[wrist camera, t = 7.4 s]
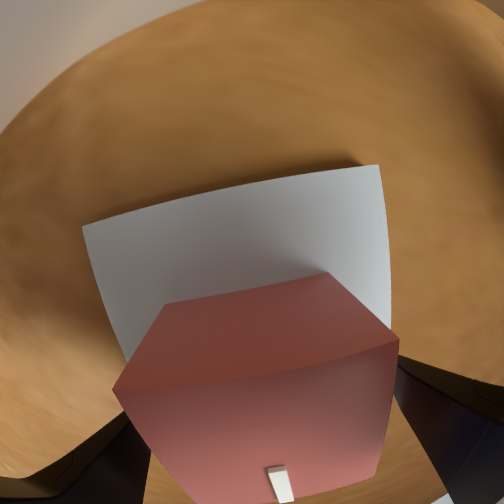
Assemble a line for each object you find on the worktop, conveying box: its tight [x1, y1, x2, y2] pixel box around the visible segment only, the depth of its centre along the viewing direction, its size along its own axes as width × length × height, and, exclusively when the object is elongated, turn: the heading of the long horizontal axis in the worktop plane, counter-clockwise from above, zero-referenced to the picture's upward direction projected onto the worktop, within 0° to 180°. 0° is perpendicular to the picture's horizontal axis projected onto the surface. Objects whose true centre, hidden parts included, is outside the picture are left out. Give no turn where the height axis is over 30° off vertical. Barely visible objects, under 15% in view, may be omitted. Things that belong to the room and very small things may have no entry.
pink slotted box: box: [112, 272, 399, 504], centre depth 8 cm, size 6×6×6 cm
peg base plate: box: [82, 165, 391, 363], centre depth 10 cm, size 12×14×5 cm
